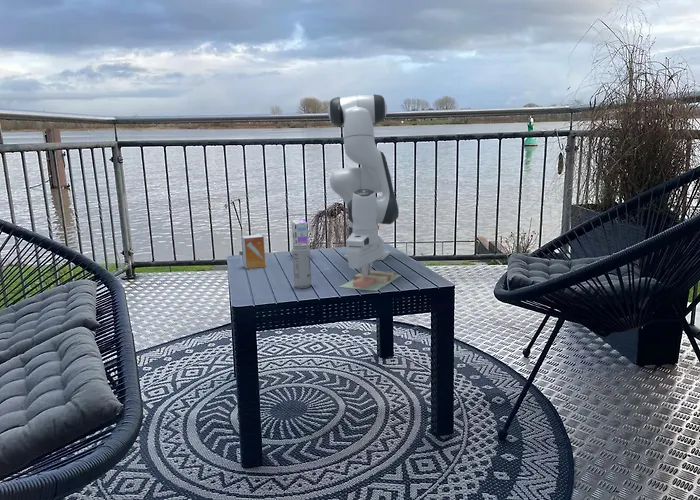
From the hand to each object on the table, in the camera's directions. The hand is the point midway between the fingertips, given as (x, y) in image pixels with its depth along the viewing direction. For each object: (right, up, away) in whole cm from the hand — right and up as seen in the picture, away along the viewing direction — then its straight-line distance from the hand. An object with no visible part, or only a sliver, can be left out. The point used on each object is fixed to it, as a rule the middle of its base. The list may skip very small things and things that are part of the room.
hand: (366, 275), depth 182 cm
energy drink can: (-22, -4, +1) cm, 23 cm away
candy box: (-28, +5, +50) cm, 57 cm away
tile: (-1, -3, -2) cm, 4 cm away
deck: (+3, -2, +6) cm, 7 cm away
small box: (-46, +2, +35) cm, 58 cm away
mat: (+2, -2, +4) cm, 5 cm away
